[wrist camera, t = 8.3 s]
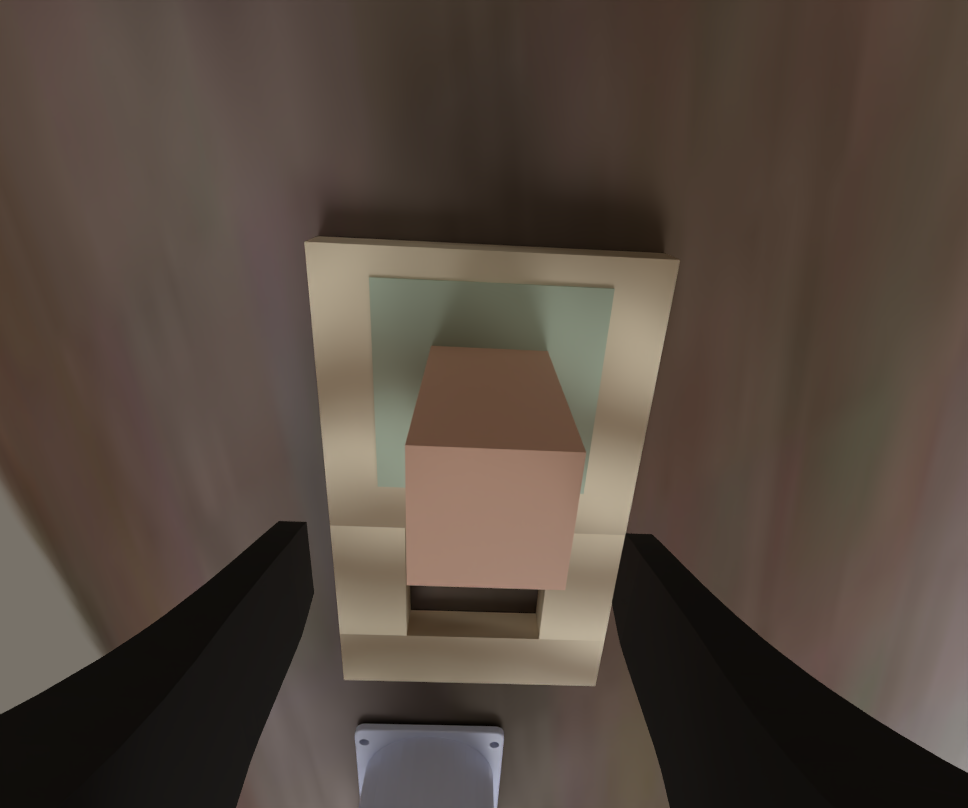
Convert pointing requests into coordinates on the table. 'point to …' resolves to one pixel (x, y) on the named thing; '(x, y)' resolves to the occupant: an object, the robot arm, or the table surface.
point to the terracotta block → (491, 472)
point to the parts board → (389, 410)
